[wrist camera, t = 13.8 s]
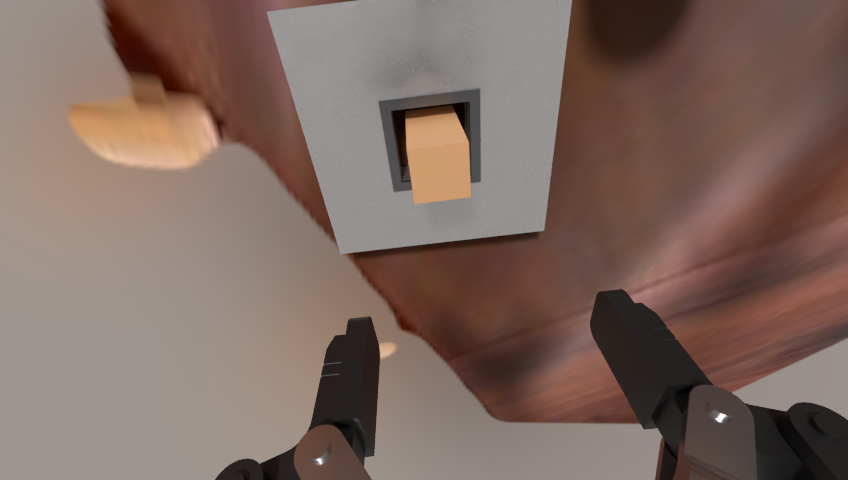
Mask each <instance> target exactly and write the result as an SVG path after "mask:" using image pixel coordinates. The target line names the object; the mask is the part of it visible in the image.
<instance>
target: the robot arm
mask: <svg viewBox="0 0 848 480" xmlns="http://www.w3.org/2000/svg"><path fill="white" fill-rule="evenodd" d="M590 328H591V333H592V335H593V338H594V340H595V342H596V343H597V345H598V347H599V349H600V351H601V352H602V354H603V356H604V358H605V360H606V361H607V363H608V365H609V367H610V369H611V371H612V372H613V374H614V376H615V378H616V380H617V381H618V383H619V385H620V387H621V389H622V391H623V392H624V394H625V396H626V398H627V400H628V401H629V403H630V405H631V407H632V409H633V410H634V412H635V414H636V416H637V418H638V420H639V421H640V423H641V425H642V427H643V429H653V428H658V429H659V431H660V433H661V434H662V436H663V437H662V439H661V443H660V450H659V457H658V464H657V470H656V477H655V480H848V420H847V419H845V418H844V417H842V416H841V415H839V414H838V413H836V412H834V411H832V410H830V409H828V408H826V407H823V406H820V405H817V404H813V403H805V402H802V403H797V404H794V405H793V406H791V407H790V408H789V410H787V412H785V411H780V410H775V409H769V408H764V407H759V406H753V405H748V404H745V403H744V402H742V400H741V399H739V398H738V397H737V396H735V395H734V394H732V393H731V392H729V391H727V390H725V389H723V388H720V387H717V386H714V385H713V384H712V383H711V382H710V381H709V380H708V378H707V377H706V376H705V375H704V373H703V372H702V371H701V369H700V368H699V367H698V366H697V364H696V363H695V362H694V361H693V359H692V358H691V357H690V355H689V354H688V353H687V352H686V350H685V349H684V348H683V347H682V345H681V344H680V343H679V342H678V340H676V339H675V336H674V335H673V334H672V333H671V331H670V330H669V329H667V326H666V325H665V324H664V322H663V321H662V320H661V319H660V317H659V316H658V315H657V314H656V313H655V312H654V311H652V310H651V309H649V308H648V307H647V306H645V305H644V304H642V303H634V302H633V301H632V299H631V298H630V296H629V295H628V294H627V293H626V292H625V291H624V290H622V289H619V290H610V291H601V292H598V294H597V296H596V300H595V304H594V308H593V312H592V316H591V320H590ZM379 365H380V351H379V344H378V340H377V337H376V333H375V330H374V326H373V322H372V319H371V317H361V318H352V319H349V320H348V324H347V330H346V335H338V336H335V337H334V338H333V340H332V342H331V343H330V345H329V346H328V348H327V350H326V355H325V359H324V366H323V369H322V374H321V375H322V377H321V379H320V383H319V388H318V393H317V398H316V402H315V407H314V412H313V417H312V421H311V425H310V427H309V430H308V431H307V433H306V434H305V435H304V436H303V438H302V439H301V440H300V441H299V443H298V444H297V445H296V446H295V447H293V448H292V449H290V450H288V451H287V452H285V453H282V454H280V455H278V456H276V457H274V458H271V459H269V460H267V461H265V462H263V463H261V464H259V463H258V462H256V461H255V460H253V459H242V460H238V461H236V462H234V463H232V464H231V465H229V466H228V467H226V468H225V469H224V470H223V471H222V472H221V473H220V474H219V475H218V476H217V478H216V479H215V480H372V479H371V478H370V476H369V475H368V473H367V472H366V470H365V468H364V459H365V457H369V456H374V449H375V432H376V415H377V398H378V382H379Z"/></svg>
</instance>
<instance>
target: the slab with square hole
mask: <svg viewBox="0 0 848 480" xmlns="http://www.w3.org/2000/svg"><path fill="white" fill-rule="evenodd" d="M571 5H572V0H355V1H347V2H339V3H331V4H323V5H315V6H307V7H299V8H291V9H283V10H275V11H269V12H267V15H268V18H269V21H270V25H271V28H272V31H273V34H274V38H275V41H276V44H277V48H278V51H279V54H280V57H281V61H282V64H283V67H284V70H285V74H286V77H287V80H288V84H289V87H290V90H291V93H292V97H293V100H294V103H295V106H296V110H297V113H298V116H299V120H300V123H301V126H302V129H303V133H304V136H305V139H306V142H307V146H308V149H309V152H310V156H311V159H312V162H313V165H314V169H315V172H316V175H317V178H318V182H319V185H320V188H321V192H322V195H323V198H324V201H325V205H326V208H327V211H328V214H329V218H330V221H331V224H332V227H333V231H334V234H335V237H336V241H337V244H338V247H339V250H340V254H345V253H354V252H363V251H371V250H380V249H389V248H397V247H406V246H415V245H424V244H432V243H441V242H450V241H458V240H467V239H476V238H485V237H493V236H502V235H511V234H520V233H528V232H537V231H544V227H545V219H546V210H547V202H548V194H549V186H550V177H551V169H552V161H553V153H554V145H555V136H556V128H557V120H558V112H559V103H560V95H561V87H562V79H563V70H564V62H565V54H566V46H567V38H568V29H569V21H570V13H571ZM460 102H464V127H465V135H466V137H467V139H468V141H469V157H470V184H471V197H469V198H461V199H453V200H445V201H437V202H429V203H421V204H414V197H413V190H412V183H411V176H410V169H409V166H405V167H401V160H400V154H399V147H398V140H397V133H396V127H395V120H394V113H393V111H394V110H402V109H410V108H419V107H427V106H435V105H444V104H452V103H460Z"/></svg>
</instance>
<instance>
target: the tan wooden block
mask: <svg viewBox="0 0 848 480" xmlns="http://www.w3.org/2000/svg"><path fill="white" fill-rule="evenodd" d="M405 122H406V145H407V156H408V162H409V169H410V176H411V183H412V190H413V197H414V204H421V203H429V202H437V201H445V200H453V199H461V198H469V197H471V184H470V157H469V141H468V139H467V137H466V135H465V132H464V130H463V128H462V126H461V124H460V122H459V119H458V117H457V115H456V113H455V111H454V108H453V106H452V105H447V106H440V107H432V108H424V109H417V110H409V111H405Z"/></svg>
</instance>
